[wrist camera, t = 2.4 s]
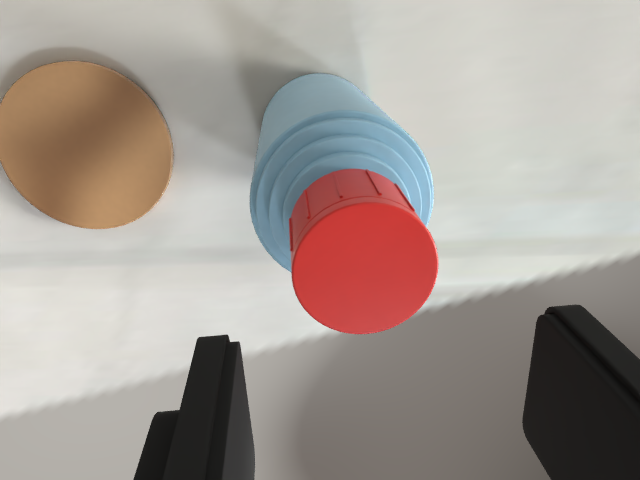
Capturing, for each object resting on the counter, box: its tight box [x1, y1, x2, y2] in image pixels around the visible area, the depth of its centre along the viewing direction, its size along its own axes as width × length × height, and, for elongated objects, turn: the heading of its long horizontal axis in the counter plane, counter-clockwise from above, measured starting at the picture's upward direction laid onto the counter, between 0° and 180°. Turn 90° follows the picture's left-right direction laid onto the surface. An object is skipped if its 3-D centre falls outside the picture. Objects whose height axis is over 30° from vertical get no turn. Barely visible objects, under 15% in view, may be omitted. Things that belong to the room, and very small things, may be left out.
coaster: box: [0, 61, 174, 229], centre depth 30 cm, size 10×10×1 cm
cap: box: [289, 169, 438, 334], centre depth 15 cm, size 4×4×3 cm
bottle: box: [250, 73, 434, 272], centre depth 23 cm, size 7×7×18 cm
